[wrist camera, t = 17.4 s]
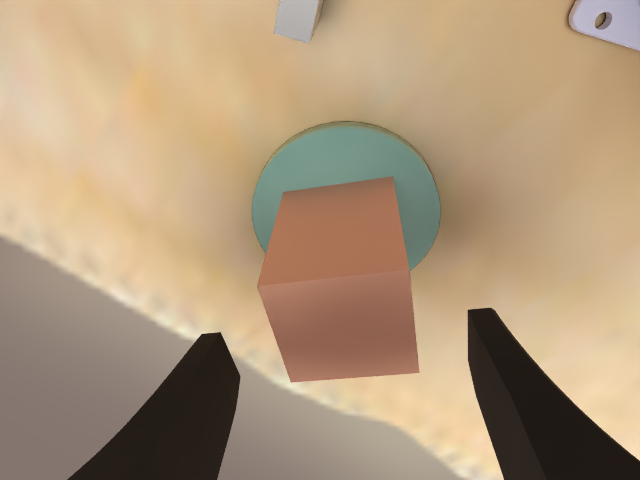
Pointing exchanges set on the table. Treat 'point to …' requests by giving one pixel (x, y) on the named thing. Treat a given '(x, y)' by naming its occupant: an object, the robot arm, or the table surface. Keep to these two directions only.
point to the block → (340, 283)
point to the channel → (298, 19)
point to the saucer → (351, 177)
